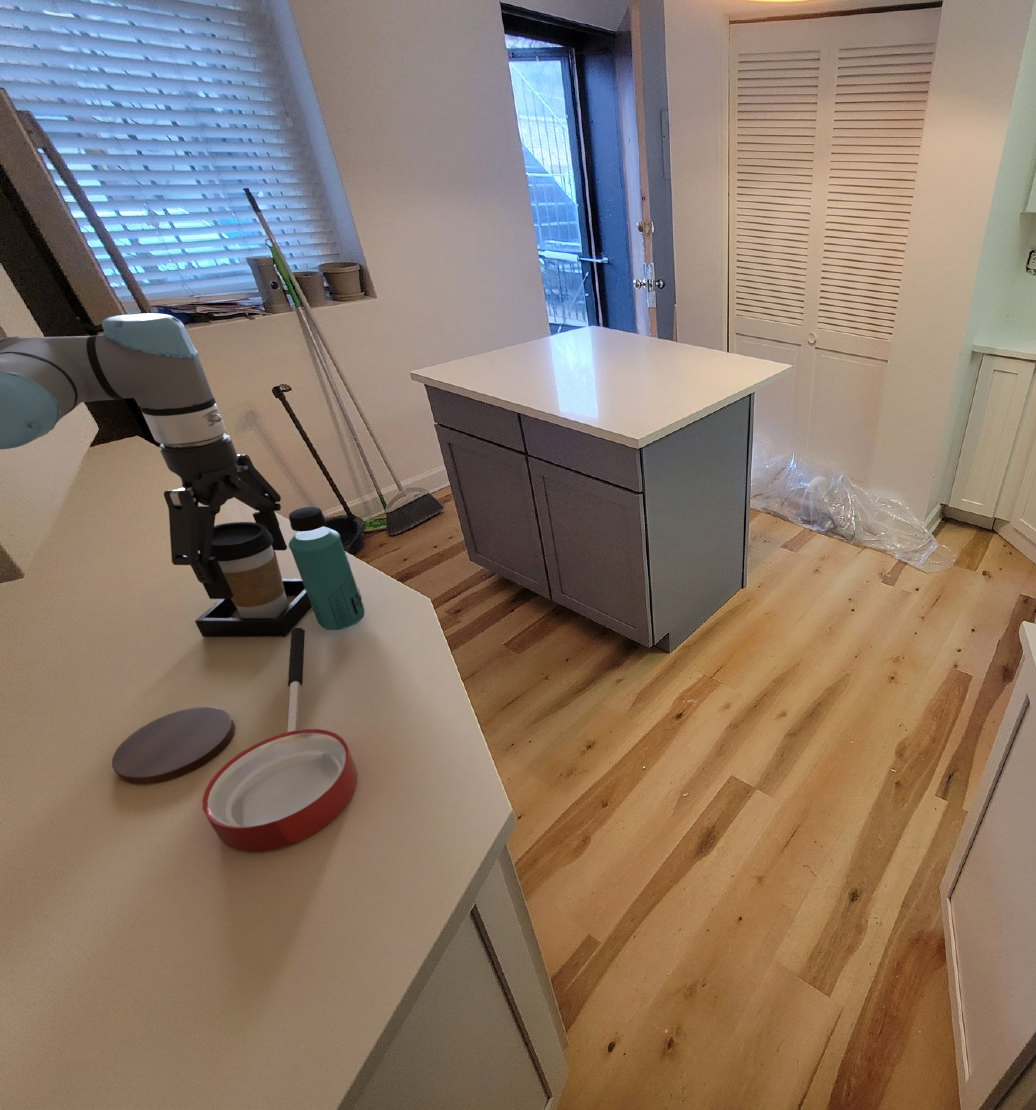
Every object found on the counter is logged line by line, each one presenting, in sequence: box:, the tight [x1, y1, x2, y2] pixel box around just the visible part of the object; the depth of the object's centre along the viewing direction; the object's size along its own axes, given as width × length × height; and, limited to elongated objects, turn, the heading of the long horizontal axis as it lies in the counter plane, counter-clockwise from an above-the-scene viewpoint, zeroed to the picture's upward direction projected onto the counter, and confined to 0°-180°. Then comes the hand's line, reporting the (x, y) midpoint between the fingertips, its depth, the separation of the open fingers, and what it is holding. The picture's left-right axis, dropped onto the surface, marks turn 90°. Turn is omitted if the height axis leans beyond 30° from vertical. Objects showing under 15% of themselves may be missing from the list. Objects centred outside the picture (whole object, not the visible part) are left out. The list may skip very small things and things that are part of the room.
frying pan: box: [201, 627, 358, 853], centre depth 73 cm, size 32×13×6 cm, turn 33°
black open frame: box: [194, 578, 313, 638], centre depth 95 cm, size 12×12×3 cm
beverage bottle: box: [288, 506, 366, 631], centre depth 89 cm, size 6×7×20 cm
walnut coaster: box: [111, 706, 236, 785], centre depth 73 cm, size 11×11×1 cm
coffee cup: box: [210, 521, 290, 618], centre depth 92 cm, size 8×8×15 cm
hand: (251, 572), depth 92 cm, fingers open, 13 cm apart
